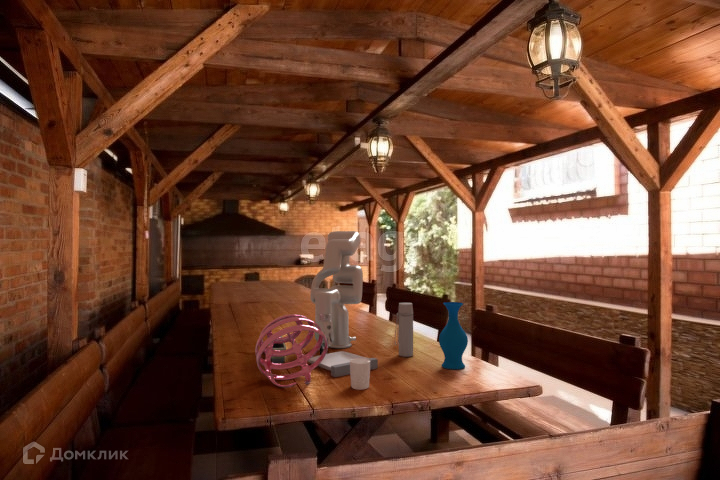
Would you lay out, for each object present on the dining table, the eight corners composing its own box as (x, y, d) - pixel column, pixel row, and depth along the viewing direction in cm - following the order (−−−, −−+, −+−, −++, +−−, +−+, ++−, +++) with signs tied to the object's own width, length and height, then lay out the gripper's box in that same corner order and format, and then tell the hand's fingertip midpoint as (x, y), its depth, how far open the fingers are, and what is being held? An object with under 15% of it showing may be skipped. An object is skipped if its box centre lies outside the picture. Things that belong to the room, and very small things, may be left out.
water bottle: (415, 354, 229) (415, 302, 228) (411, 358, 221) (411, 305, 221) (396, 352, 232) (396, 301, 231) (392, 356, 224) (392, 304, 224)
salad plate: (304, 365, 210) (304, 357, 210) (342, 357, 224) (342, 350, 224) (333, 375, 194) (333, 367, 194) (371, 366, 208) (371, 358, 208)
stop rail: (373, 366, 207) (373, 357, 207) (377, 368, 204) (377, 359, 204) (331, 375, 194) (330, 365, 194) (334, 377, 191) (334, 367, 191)
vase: (433, 365, 209) (433, 302, 209) (457, 362, 214) (457, 300, 214) (449, 372, 198) (448, 305, 198) (473, 369, 203) (473, 304, 203)
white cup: (349, 384, 182) (349, 358, 182) (369, 383, 183) (369, 357, 183) (350, 390, 175) (350, 363, 175) (371, 390, 175) (371, 363, 175)
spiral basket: (335, 341, 168) (313, 292, 189) (258, 366, 161) (243, 312, 181) (339, 388, 186) (318, 338, 206) (270, 412, 178) (255, 358, 198)
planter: (286, 363, 213) (286, 347, 213) (270, 364, 211) (270, 348, 211) (281, 349, 239) (281, 335, 239) (267, 350, 238) (267, 336, 238)
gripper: (338, 318, 215) (339, 358, 215) (322, 314, 227) (322, 352, 228) (324, 320, 211) (324, 361, 211) (308, 315, 223) (308, 354, 223)
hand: (323, 356), depth 219 cm, fingers closed
